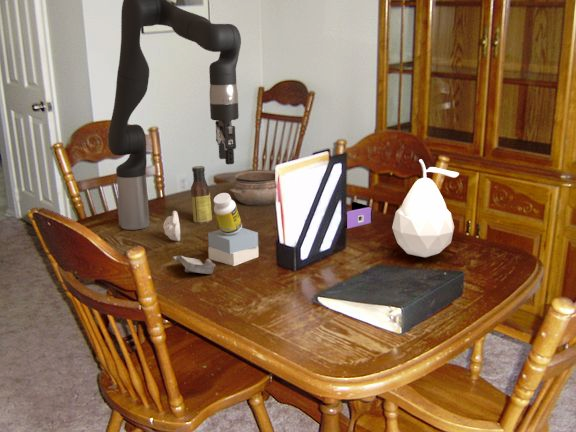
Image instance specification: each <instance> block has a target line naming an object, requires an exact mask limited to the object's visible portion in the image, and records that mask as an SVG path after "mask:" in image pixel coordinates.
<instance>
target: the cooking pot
mask: <svg viewBox="0 0 576 432" xmlns="http://www.w3.org/2000/svg"><path fill="white" fill-rule="evenodd" d="M234 177H235V178H236V179H235V181H234V185H233V188H229V190H228V191H229V192H232V193H233V195H234V197H235V199H236V200H237V202H239V203H241V204H242V205H246V206H253V207H254V206H255V207H263V206H270V205H274V204H276V203H275V170H249V171H241V172H238V173H236V174H235V175H234Z"/></svg>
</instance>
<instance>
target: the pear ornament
mask: <svg viewBox="0 0 576 432" xmlns="http://www.w3.org/2000/svg"><path fill="white" fill-rule="evenodd" d="M418 162H419V163H420V166H421V169H422V177H421V178H418V179H417V180H416V181H415V182H414V184H413V185H412V187H411V188H410V190H409V191H408V192H407V195H406V196H405V198H404V200H403V202H402V204H401V206H400V207H399V208H398V209H397V210H396V211H395V214H394V218H393V223H392V226H391V227H392V232H393V234H394V237H395V240H396V242H397V244H398V245H399V246H400V248H401V249H403V251H404V252H405V253H406V254H407V255H412V256H416V257H422V258H428V257H431V256H432V257H433V256H435V255H438V254H440V253H441V252H442V251H443V250H445V249H446V247H448V246H449V245H450V244H451V243H452V240H453V234H454V230H455V225H454V221H453V216H452V213H451V211H449V209H448V208H447V204H446V202H445V200H444V198H443V195H442V194H441V191H440V190H439V188H438V186H437V184H436V183H435V182H434V180H433V179H431V178H429V177H427V173H433V174H440V175H443V176H446V177H449V178H453V179H455V178H457V177H459V175H460V172H457V171H452V170H448V169H444V168H440V167H435V166H430V167H428V168H427V169H426V165H425V163H424V160H423V159H419V160H418Z"/></svg>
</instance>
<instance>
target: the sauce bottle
mask: <svg viewBox="0 0 576 432" xmlns="http://www.w3.org/2000/svg"><path fill="white" fill-rule="evenodd" d="M191 171H192V175H193V176H192V177H193V179H192V180H193V182H192V185H191V187H190V192H191V205H192V207H191V208H192V216H193V217H192V218H193V222H194V223H195V224H198V225H201V224H209V223H211V222H212V221H213V214H212V213H213V212H212V203H211V201H212V200H211V190H210V187H209V185H208V183H207V181H206V180H207V179H206V176H205V171H206V170H205V166H203V165H196V166H192V167H191Z"/></svg>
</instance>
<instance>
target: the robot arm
mask: <svg viewBox="0 0 576 432" xmlns="http://www.w3.org/2000/svg"><path fill="white" fill-rule="evenodd" d="M120 21H121V22H120V23H121V24H120V27H121V28H120V29H121V31H120V32H121V33H120V34H121V36H120V49H119V60H118V68H117V73H116V74H117V76H116V83H115V84H116V86H115V96H114V104H113V110H112V116H111V120H110V122H109V123H110V125H109V127H108V128H109V129H108V134H107V146H108V148H109V151H110V153H111V154H113V155H114V156H126V155H129V156H128V158H126V160H125V161H124V162H122V163H121V164H119V165H117V167H116V168H115V169H116V170H115V172H116V183H117V196H118V197H117V198H116V202H117V213H118V224H119V227H120V228H121V229H122V230H132V231H133V230H135V231H136V230H142V229H146V228H148V227H150V224H151V223H150V213H149V199H148V187H147V186H148V185H147V172H146V170H147V164H148V163H147V160H148V159H147V139H146V133H145V130H144V128H143V127H142V126H141V125H140V124H128V123H129V120H130V118H131V116H132V113H133V112H134V111H135V110H136V108H137V107H138V105H139V104H140V103H141V101H142V100H143V98H144V97H145V96H146V93H147V91H148V86H149V80H150V79H149V78H150V66H149V63H148V61H147V59H146V57H145V55H144V53H143V50H142V47H141V31H142V27H152V26H153V27H154V26H165V27H169V28H171V29H172V30H173V32H174V33H175V34H176V35H178V36H179V37H181V38H183V39H185V40H188V41H190V42H193V43H196V44H197V45H198V46H199V47H200V48H202V49H204V50H206V51H209V52H213V53H219V56H218V59H217V60H216V61H213V62H211V63H210V65H209V71H208V73H209V84H210V85H209V111H210V114H209V115H210V119H211V120H213V121H215V142H216V143H217V146H218V157H219V159H220V160H225V164H226V165H234V163H235V151H234V150H236V149H237V143H236V142H237V141H236V127H235V125H232V121H235V120H238V119H239V116H240V114H239V93H238V87H237V64H238V61H239V55H240V51H241V45H242V37H241V33H240V30H239V29H238V27H237V26H236V25H234V24H231V23H212V22H211V20H209V19H208V18H206V17H204V16H203V15H199V14H196V13H194V12H191V11H187V10H185V9H183V8H180V7H178V6H177V5H175V4H173V3H171V2H170V1H168V0H122V6H121V20H120Z"/></svg>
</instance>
